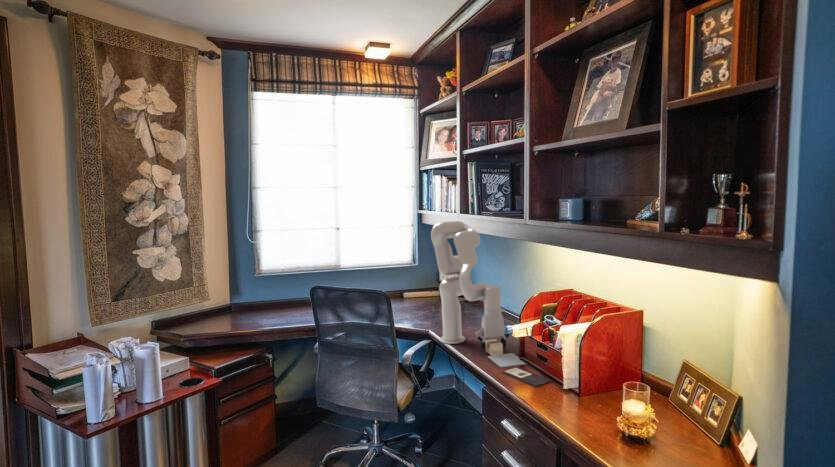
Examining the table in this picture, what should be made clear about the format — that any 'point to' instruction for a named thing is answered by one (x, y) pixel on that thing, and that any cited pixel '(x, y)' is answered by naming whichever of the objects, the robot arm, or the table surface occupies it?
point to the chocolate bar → (527, 377)
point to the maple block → (494, 347)
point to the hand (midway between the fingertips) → (493, 349)
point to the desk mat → (506, 360)
